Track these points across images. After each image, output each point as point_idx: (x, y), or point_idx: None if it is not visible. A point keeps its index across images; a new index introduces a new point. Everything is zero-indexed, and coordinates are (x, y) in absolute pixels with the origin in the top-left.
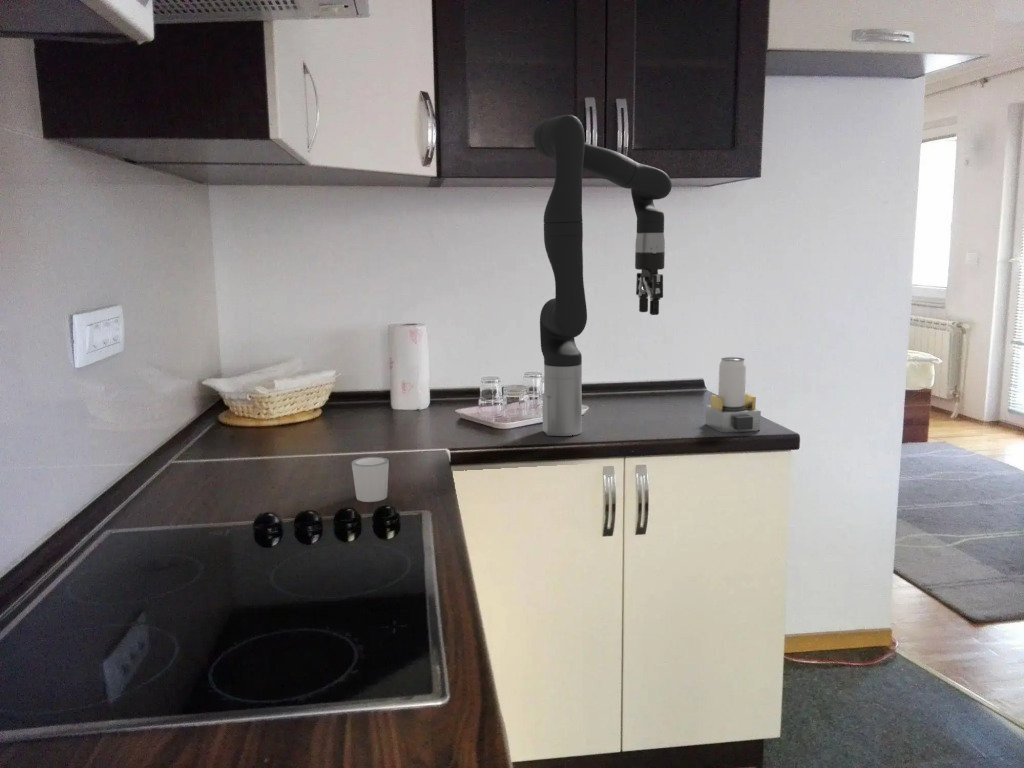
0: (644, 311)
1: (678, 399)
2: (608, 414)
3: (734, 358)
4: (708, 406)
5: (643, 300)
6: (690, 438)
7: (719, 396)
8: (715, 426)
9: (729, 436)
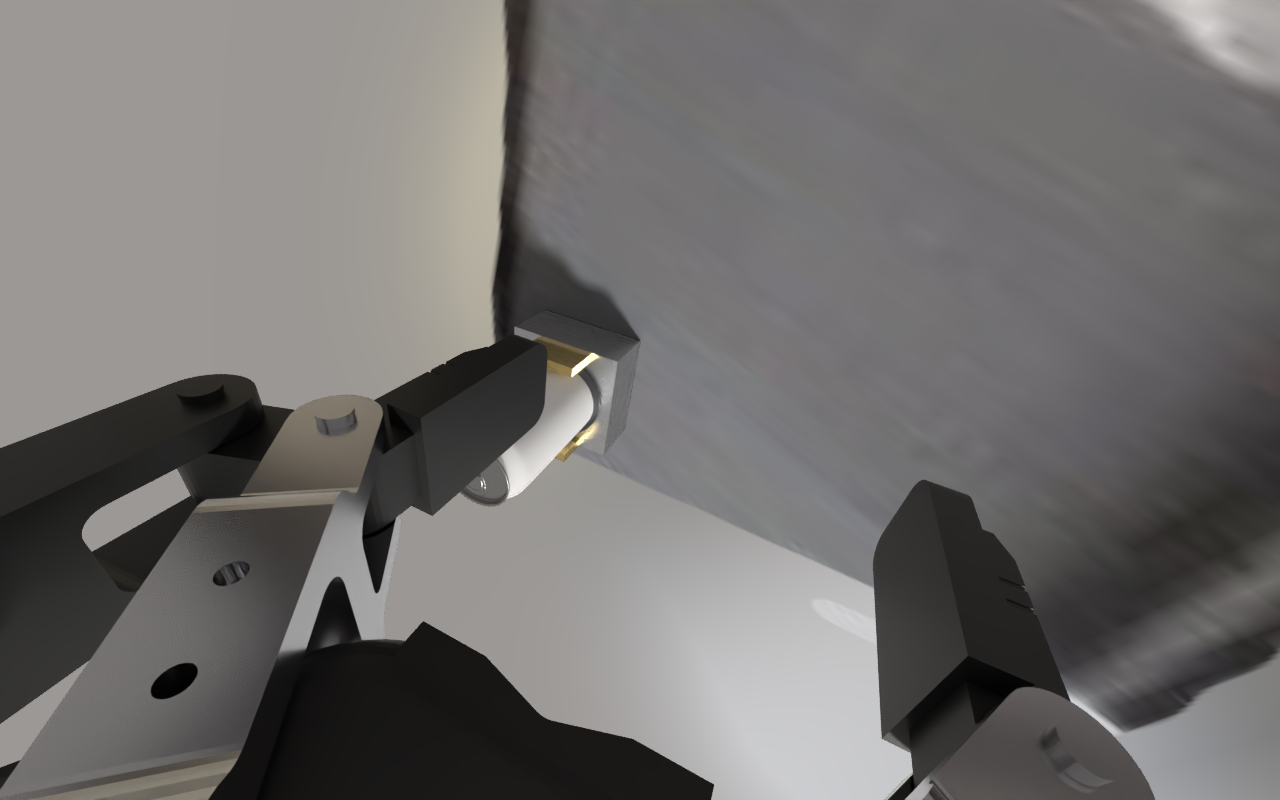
0: (893, 524)
1: (1009, 528)
2: (974, 105)
3: (503, 498)
4: (601, 355)
5: (924, 655)
6: (514, 192)
7: (550, 375)
8: (577, 323)
9: (511, 299)
